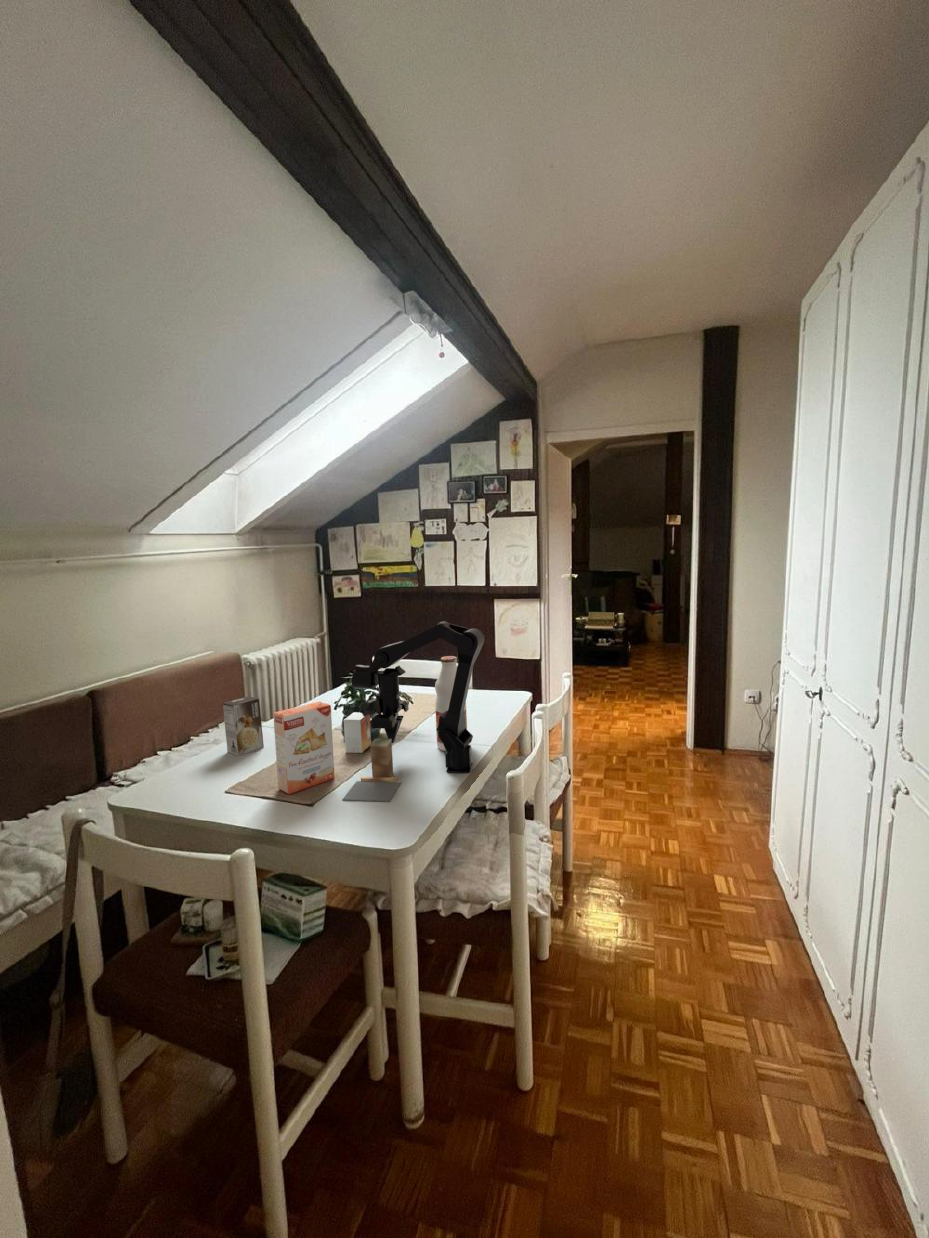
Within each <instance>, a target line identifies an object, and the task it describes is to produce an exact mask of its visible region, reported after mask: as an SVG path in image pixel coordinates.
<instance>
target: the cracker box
mask: <svg viewBox="0 0 929 1238" xmlns="http://www.w3.org/2000/svg"><path fill="white" fill-rule="evenodd" d="M272 716H273V726H274V727H273V729H274V730H273V731H274V746H275V757H276V758H275V759H276V760H275V761H276V770H277V771H276V773H277V774H276V775H277V784H278V785H277V787H278V788H277V789H279V790H280V791H282V792H284V793H286V794H287V795H291V794H295V793H297V792H299V791H302V790H304V789H305V790H306V789H308V788H310V787H313V786H316V785H319V784H322V783H325V782H328V781H331V780H334V779H335V759H334V745H333V744H334V743H333V742H334V741H333V739H334V738H333V726H332V725H333V724H332V705H331V704H329V703H325V702H322V701H315V702H312V703H308V704H304V705H299V706H296V707H291V708H287V709H286V708H285V709H283V710H279V711H275V712H273V714H272Z"/></svg>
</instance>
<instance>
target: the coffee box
mask: <svg viewBox="0 0 929 1238" xmlns="http://www.w3.org/2000/svg"><path fill="white" fill-rule="evenodd" d="M260 705H261V704H260V698H258V697H252V696H248V695H247V696H243V697H240V698H235V699H232V700H229V701H224V702H222V710H223V721H224V722H223V723H224V732H225V740H226V748H227V750H226V751H227V753H229V754H231V755H235V756H238V757H239V756H242V755H245V754H248V753H250V752H254V751H256V750H259V749H262V748H264V747H265V744H264V735H263V734H264V733H263V724H262V717H261V716H262V715H261V706H260Z"/></svg>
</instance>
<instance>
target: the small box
mask: <svg viewBox="0 0 929 1238" xmlns="http://www.w3.org/2000/svg"><path fill="white" fill-rule="evenodd" d="M370 721H371V719H370V714H368V715H367V716H363V714H362V713H360V712H359V711H358V712H357V711H355V712H352V713H351V714H349V715H348V716H347V717H346V718H344V719H343V733H344V748H345V754H346V753H349V754H350V753H351V754H355V753H356V754H363V753H364V751H366V749H368V748H369V747H371V745H370V744H371V743H372V737H371V735H372V734H371V726H370Z"/></svg>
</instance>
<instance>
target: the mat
mask: <svg viewBox="0 0 929 1238" xmlns="http://www.w3.org/2000/svg"><path fill="white" fill-rule="evenodd" d="M401 783H402V782H401V781H398V782H370V781H361V780H360V781H359V780H356V781H355V783H354V784H353V785H352V787H351V788H350V789H349V791H348V792H346V794H345V795H344V797H343V798H342V800H341V801H348V802H349V801H350V802H351V801H352V802H353V801H354V802H379V803H380V802H383V803H384V802H385V803H390V802H391V800H392V798H393V797H394V795H395V794H396V792H397V791H398V789H399V787H400V786H401Z"/></svg>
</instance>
